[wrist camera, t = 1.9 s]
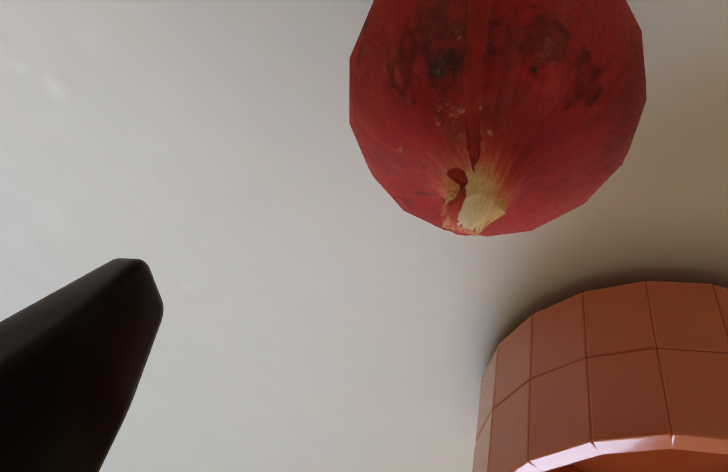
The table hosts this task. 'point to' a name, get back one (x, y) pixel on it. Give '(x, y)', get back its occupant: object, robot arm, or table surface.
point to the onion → (495, 106)
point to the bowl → (611, 384)
